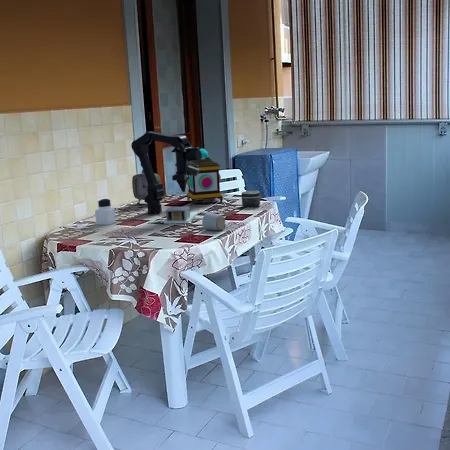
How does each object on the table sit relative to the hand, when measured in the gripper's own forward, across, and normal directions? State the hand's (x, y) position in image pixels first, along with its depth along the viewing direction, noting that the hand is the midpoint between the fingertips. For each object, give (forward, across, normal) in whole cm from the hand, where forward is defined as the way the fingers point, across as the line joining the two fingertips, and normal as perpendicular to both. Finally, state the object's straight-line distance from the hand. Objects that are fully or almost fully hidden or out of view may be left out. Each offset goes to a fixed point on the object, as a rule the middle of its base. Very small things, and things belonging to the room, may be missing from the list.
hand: (183, 192), depth 305 cm
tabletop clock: (+12, +32, +29) cm, 45 cm away
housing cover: (+11, -14, 0) cm, 17 cm away
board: (+12, -8, 0) cm, 14 cm away
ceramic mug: (+12, -32, -22) cm, 40 cm away
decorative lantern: (+12, +39, -2) cm, 41 cm away
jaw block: (+11, -14, 0) cm, 18 cm away
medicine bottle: (+12, -17, +36) cm, 42 cm away
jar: (+12, +22, -31) cm, 40 cm away
